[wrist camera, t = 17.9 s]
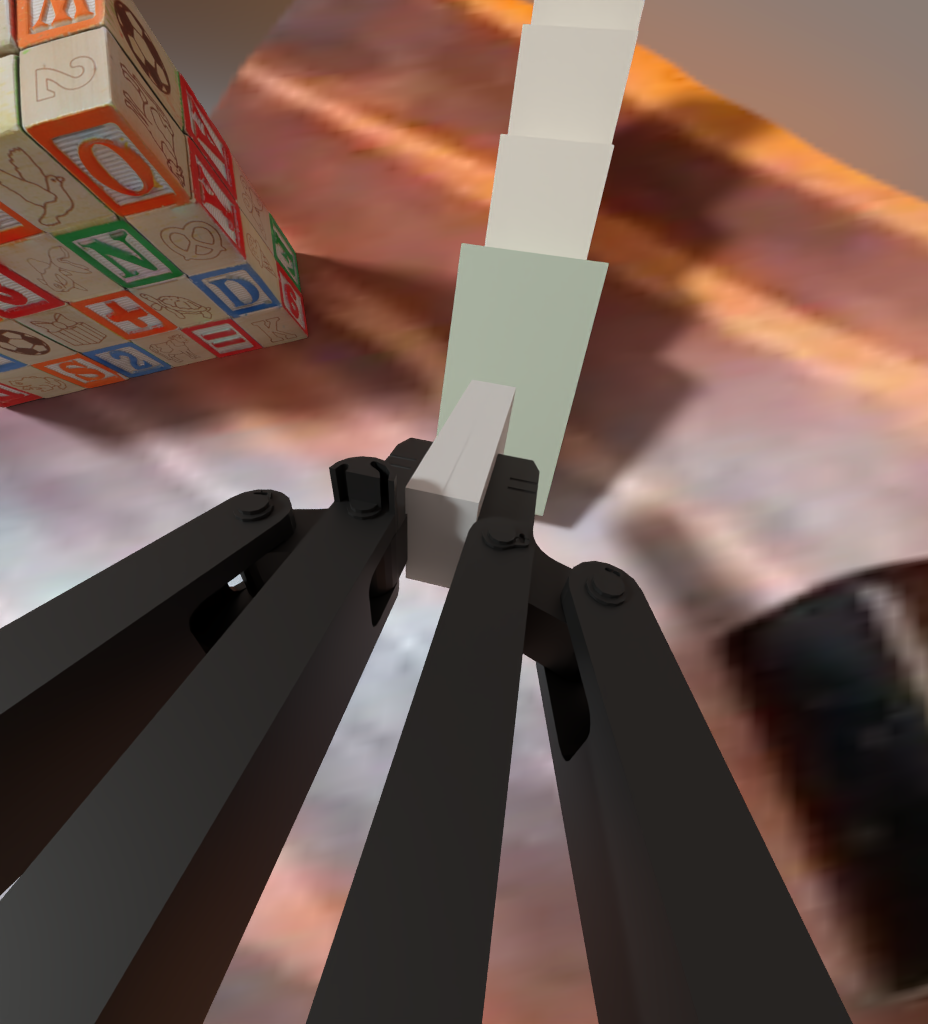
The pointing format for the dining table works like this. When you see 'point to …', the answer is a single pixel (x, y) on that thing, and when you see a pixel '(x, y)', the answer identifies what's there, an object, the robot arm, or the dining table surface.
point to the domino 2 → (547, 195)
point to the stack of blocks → (121, 211)
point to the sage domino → (523, 342)
